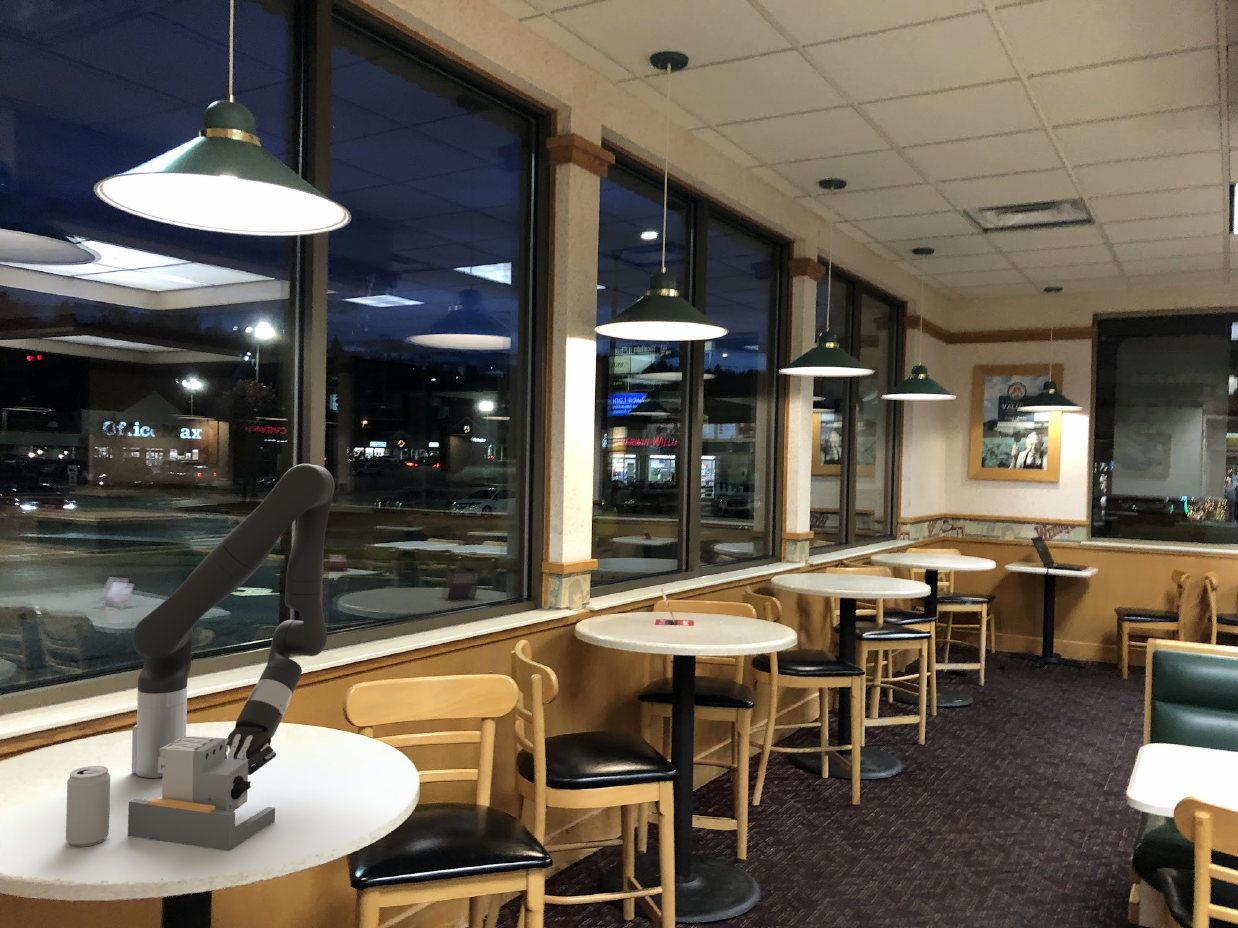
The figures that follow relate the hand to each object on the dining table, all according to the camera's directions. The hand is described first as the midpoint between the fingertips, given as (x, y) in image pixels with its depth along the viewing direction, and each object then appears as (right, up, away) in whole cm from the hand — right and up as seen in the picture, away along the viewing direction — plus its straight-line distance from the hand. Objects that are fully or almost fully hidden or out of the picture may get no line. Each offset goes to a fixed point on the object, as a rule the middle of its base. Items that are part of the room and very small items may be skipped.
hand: (222, 792), depth 170 cm
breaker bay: (-1, -4, -5) cm, 7 cm away
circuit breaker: (-1, -5, -5) cm, 7 cm away
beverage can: (-18, -4, -11) cm, 22 cm away
